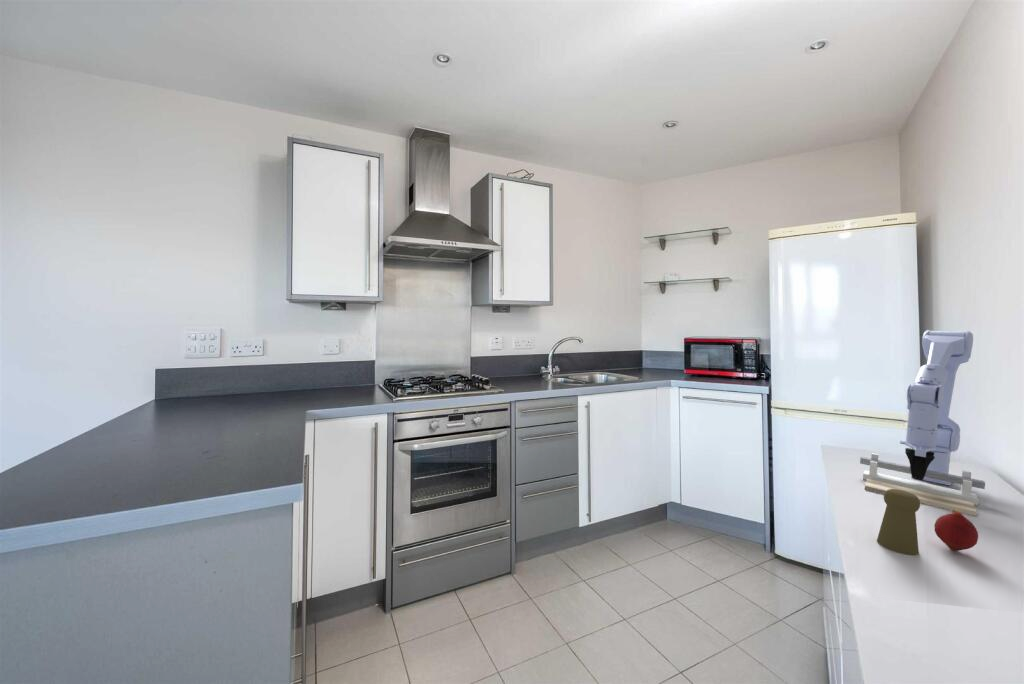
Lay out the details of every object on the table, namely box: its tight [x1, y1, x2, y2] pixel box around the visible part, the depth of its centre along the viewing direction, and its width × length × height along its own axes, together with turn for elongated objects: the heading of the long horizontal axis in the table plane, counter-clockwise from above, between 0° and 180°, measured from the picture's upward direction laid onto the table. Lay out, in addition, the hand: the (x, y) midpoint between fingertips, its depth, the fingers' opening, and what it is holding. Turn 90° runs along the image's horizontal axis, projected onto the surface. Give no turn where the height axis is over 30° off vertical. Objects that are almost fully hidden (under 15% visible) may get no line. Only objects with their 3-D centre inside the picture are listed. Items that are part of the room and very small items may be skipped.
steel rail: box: [859, 456, 986, 490], centre depth 113 cm, size 2×24×2 cm, turn 46°
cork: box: [876, 489, 921, 556], centre depth 81 cm, size 6×6×11 cm
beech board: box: [864, 479, 978, 517], centre depth 107 cm, size 8×20×1 cm, turn 46°
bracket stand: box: [862, 452, 979, 506], centre depth 113 cm, size 5×22×7 cm, turn 46°
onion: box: [934, 509, 979, 552], centre depth 81 cm, size 6×6×8 cm
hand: (917, 477), depth 113 cm, fingers closed on steel rail, 2 cm apart
